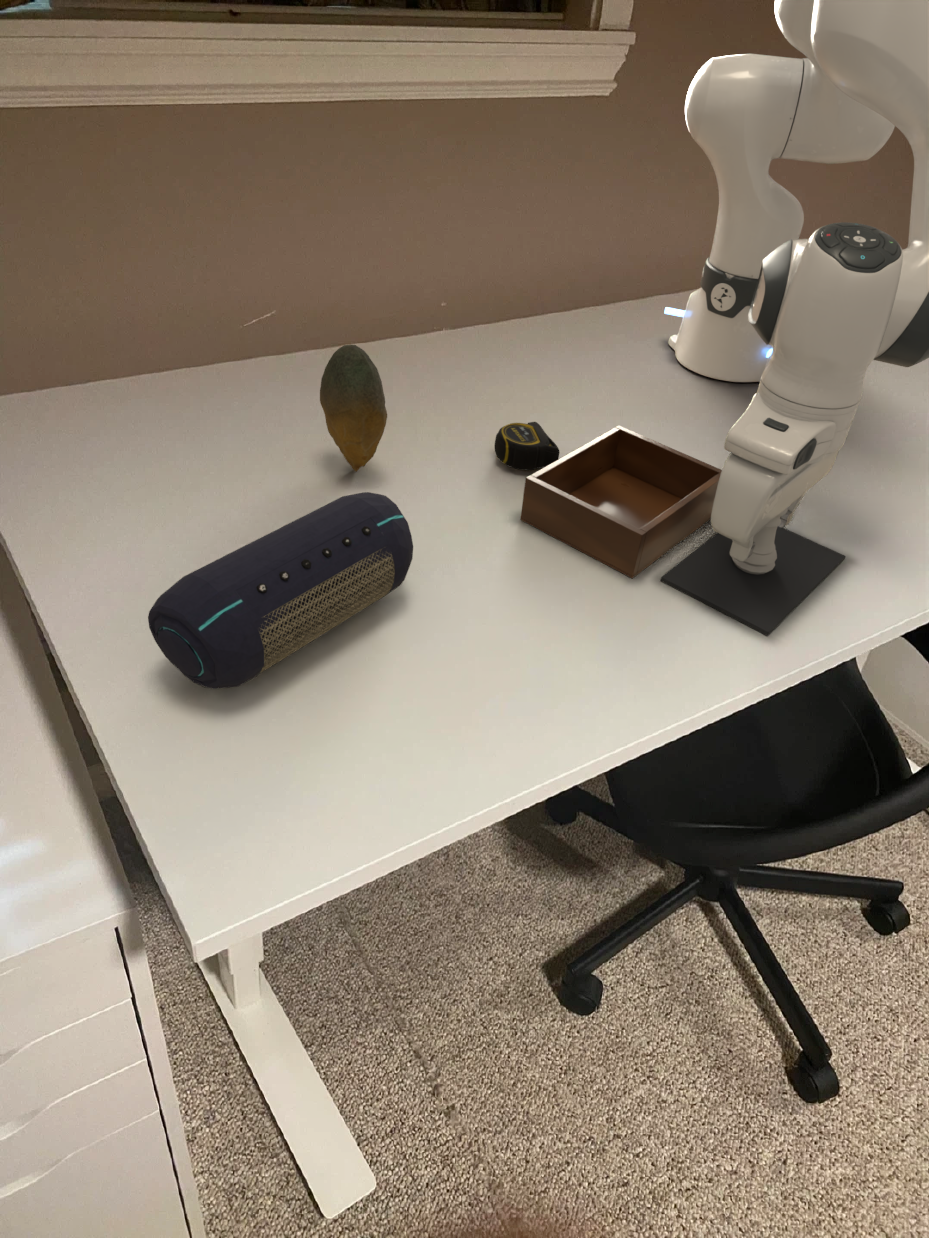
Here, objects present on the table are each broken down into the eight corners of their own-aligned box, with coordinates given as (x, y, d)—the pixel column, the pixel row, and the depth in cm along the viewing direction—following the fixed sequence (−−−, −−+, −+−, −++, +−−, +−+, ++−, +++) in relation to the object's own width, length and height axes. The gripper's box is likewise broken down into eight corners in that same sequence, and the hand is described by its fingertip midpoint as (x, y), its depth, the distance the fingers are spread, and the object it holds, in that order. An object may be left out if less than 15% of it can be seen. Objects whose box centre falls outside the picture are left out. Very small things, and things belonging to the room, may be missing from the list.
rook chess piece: (722, 562, 95) (742, 497, 90) (743, 546, 97) (764, 481, 92) (760, 582, 92) (783, 515, 87) (781, 564, 95) (804, 499, 90)
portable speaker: (219, 729, 73) (205, 634, 66) (145, 669, 77) (125, 575, 71) (430, 593, 88) (435, 505, 82) (357, 550, 93) (356, 464, 87)
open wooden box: (610, 464, 110) (618, 424, 107) (717, 513, 103) (729, 472, 100) (520, 519, 99) (525, 477, 96) (632, 578, 92) (642, 535, 89)
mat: (744, 514, 103) (745, 510, 103) (844, 559, 98) (846, 555, 97) (660, 580, 92) (661, 576, 92) (767, 636, 87) (769, 632, 86)
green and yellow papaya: (399, 482, 104) (402, 356, 94) (353, 497, 101) (351, 368, 91) (353, 445, 109) (352, 324, 100) (309, 458, 106) (303, 334, 97)
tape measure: (558, 473, 108) (563, 444, 105) (504, 479, 106) (507, 450, 103) (537, 445, 113) (541, 417, 110) (485, 450, 111) (488, 422, 108)
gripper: (816, 373, 92) (777, 490, 101) (717, 439, 80) (682, 566, 88) (877, 394, 89) (831, 513, 98) (783, 466, 77) (740, 595, 85)
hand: (760, 539), depth 93 cm, fingers open, 7 cm apart
